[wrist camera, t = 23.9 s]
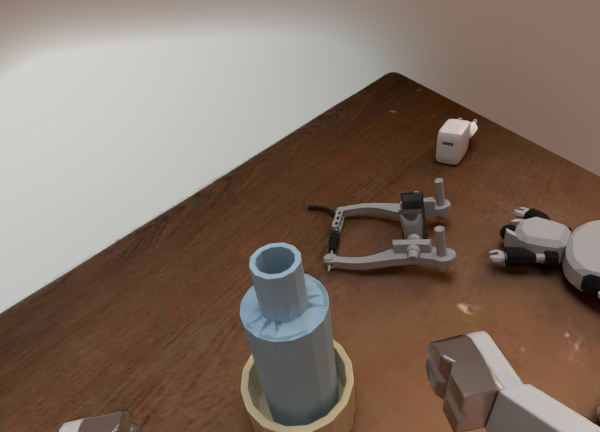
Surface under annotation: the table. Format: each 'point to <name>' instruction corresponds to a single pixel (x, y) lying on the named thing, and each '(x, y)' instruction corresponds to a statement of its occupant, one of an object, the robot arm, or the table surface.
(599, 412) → the stone tool
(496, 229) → the table surface
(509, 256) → the robot toy
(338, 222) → the bike brake
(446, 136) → the power adapter
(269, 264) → the bottle
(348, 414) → the holder
